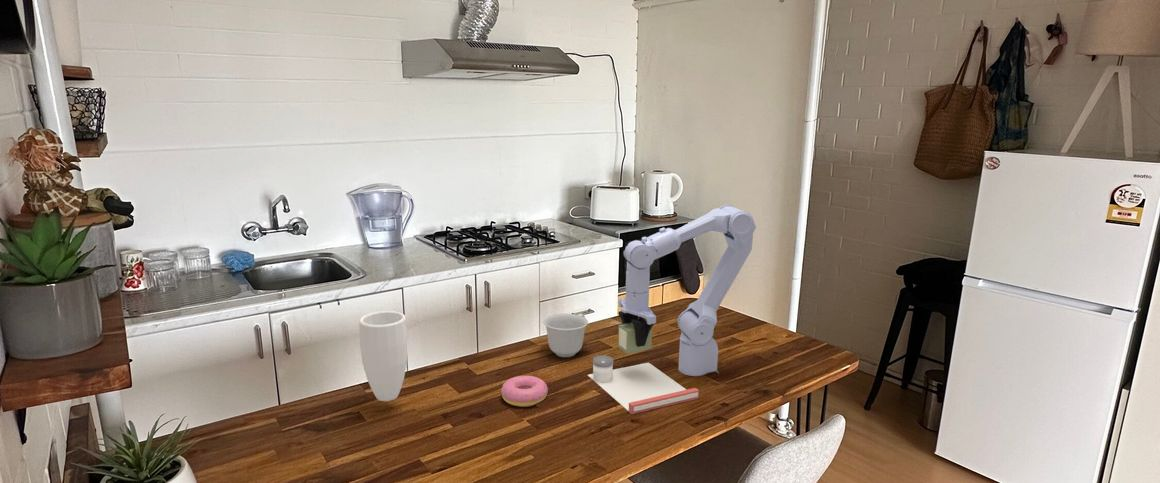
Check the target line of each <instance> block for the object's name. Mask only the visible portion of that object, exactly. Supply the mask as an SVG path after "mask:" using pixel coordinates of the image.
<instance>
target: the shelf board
mask: <svg viewBox="0 0 1160 483" xmlns="http://www.w3.org/2000/svg"><path fill="white" fill-rule="evenodd" d="M587 376H588V377H589V378H590V379H591V380H592V381H594V380H593V373H589V374H587ZM594 383H595V384H597V385H598V386H599V387H600V388H601V389H602V390H604V391H605V392H606V393H607V394H609V396H611V397H612V398H613V399H614V400H615V401H616V402H617V403H618V404H620V405H621V406H622V407H623V408H624V409H625V410H626V411H627V412H629V413H630V414H632V415H636V414H639V413H643V412H649V411H651V410H655V409H656V410H657V409H660V408H664V407H669V406H673V405H677V404H681V403H682V404H683V403H685V402H690V401H693V400H697V399H699V397H700V396H699V395H700V389H698V388H696V387H693V388H688V389H686V388H685V387H683V386H682V385H681V384H679V383H678V382H677V381H675V380H674V379H673V378H672V377H669V376H668V375H667V374H665V373H664V372H663V371H661V370H660V369H658V368H657V367H655V366H654V365H653V364H651V363H650V362H644V363H640V364H634V365H630V366H626V367H624V366H623V367H620V368H615V369H613V376H612V381H610V382H607V383H599V382H596V381H594Z"/></svg>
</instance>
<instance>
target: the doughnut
mask: <svg viewBox="0 0 1160 483" xmlns="http://www.w3.org/2000/svg"><path fill="white" fill-rule="evenodd" d="M500 389H501V390H500V393H501V397H502V399H503V400H504V401H505V402H506V403H507V404H509V405H511V406H514V407H519V408H520V407H523V408H524V407H527V408H528V407H533V406H537V404H538V403H541V402H542V401H544V400H545V399H546V397H547V395H548V392H549V388H548V385H547V383H546V382H545V381H544V379H541V378H539V377H537V376H534V375H517V376H514V377H511V378H508V379H507V380H506V381H505V382H504V383H502V387H501V388H500Z"/></svg>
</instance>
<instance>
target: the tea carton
mask: <svg viewBox="0 0 1160 483" xmlns="http://www.w3.org/2000/svg"><path fill="white" fill-rule="evenodd" d="M617 335H618V340H617V342H618V343H617V344H618V345H617V347H618V349H619V350H621V351H622V352H624V353H625V354H627V355H628V354H633V353H637V352H638V353H639V352H642V351H643V352H644V351H647V350H652V344H653V343H652V342H653V340H652V338H653V327H652V328H651V330H650V332H649V334H648V337H647V340H646V344H645V346H640V347H638V346H637V345H636V337H635V329H634V326H633V323H626V324H623V323H622V324H618V333H617Z"/></svg>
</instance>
